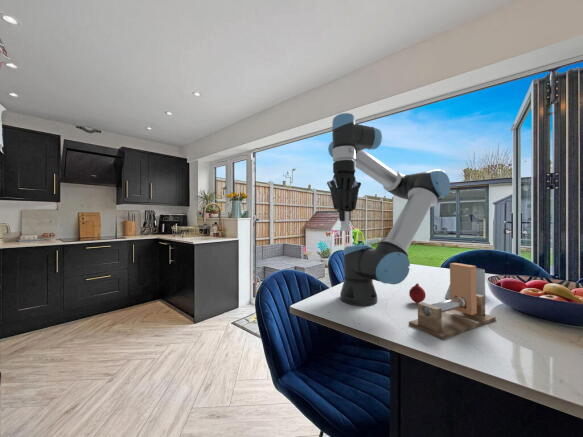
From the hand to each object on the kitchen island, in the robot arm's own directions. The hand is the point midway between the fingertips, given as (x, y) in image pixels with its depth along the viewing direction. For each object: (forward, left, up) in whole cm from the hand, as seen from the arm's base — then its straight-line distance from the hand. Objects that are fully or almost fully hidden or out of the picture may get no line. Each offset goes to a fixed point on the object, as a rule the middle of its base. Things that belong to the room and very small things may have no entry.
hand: (345, 230), depth 83 cm
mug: (-26, +62, -31) cm, 74 cm away
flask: (-18, +50, -31) cm, 61 cm away
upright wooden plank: (+1, +39, -28) cm, 48 cm away
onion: (-14, +32, -31) cm, 46 cm away
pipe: (+4, +34, -26) cm, 43 cm away
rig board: (+4, +34, -30) cm, 46 cm away
